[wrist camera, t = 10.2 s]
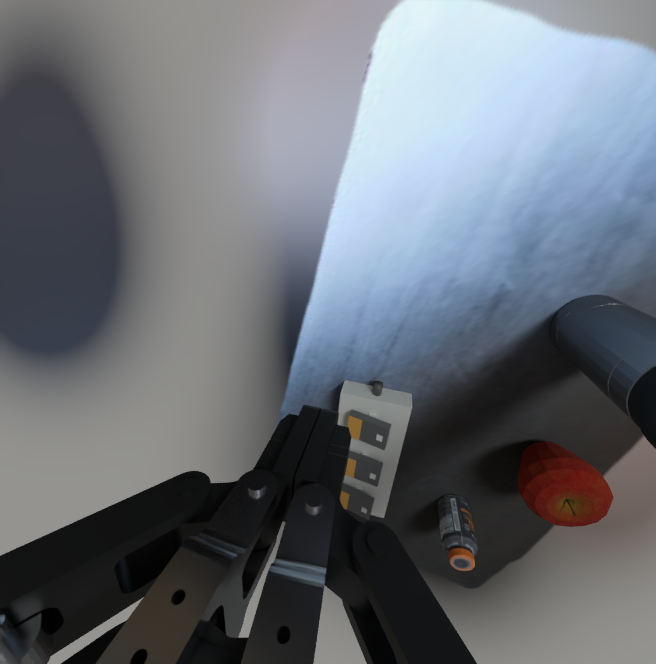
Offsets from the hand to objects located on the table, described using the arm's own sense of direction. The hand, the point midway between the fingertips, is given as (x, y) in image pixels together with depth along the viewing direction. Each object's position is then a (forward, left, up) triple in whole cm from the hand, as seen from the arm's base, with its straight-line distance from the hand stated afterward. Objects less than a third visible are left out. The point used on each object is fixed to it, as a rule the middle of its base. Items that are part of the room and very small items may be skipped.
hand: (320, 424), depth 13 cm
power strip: (-3, +36, -37) cm, 52 cm away
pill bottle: (-22, +46, -37) cm, 63 cm away
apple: (-32, +28, -37) cm, 56 cm away
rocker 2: (-3, +36, -33) cm, 49 cm away
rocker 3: (-3, +45, -32) cm, 55 cm away
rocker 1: (-3, +27, -33) cm, 43 cm away
